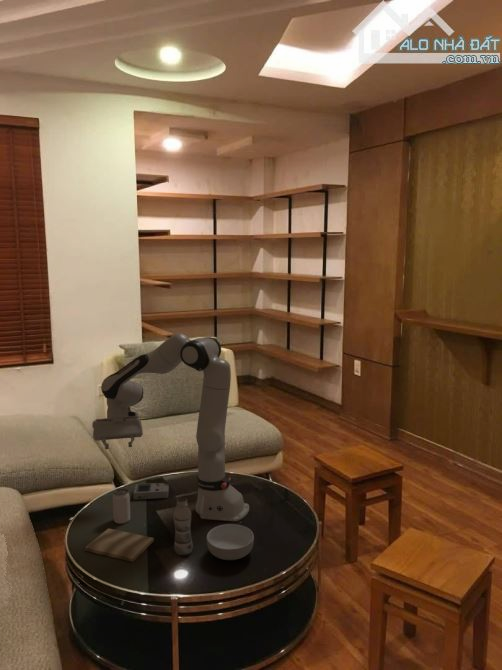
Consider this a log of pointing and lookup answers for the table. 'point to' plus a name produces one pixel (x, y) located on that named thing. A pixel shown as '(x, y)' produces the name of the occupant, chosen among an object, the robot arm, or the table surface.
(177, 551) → the plastic bottle
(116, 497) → the can
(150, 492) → the handheld gaming device
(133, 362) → the robot arm
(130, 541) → the oak board
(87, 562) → the table surface
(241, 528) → the cereal bowl
